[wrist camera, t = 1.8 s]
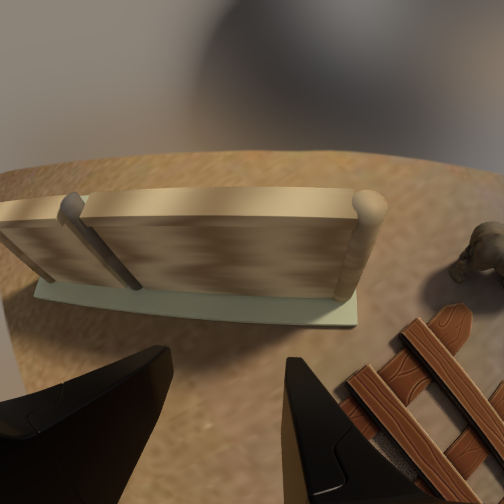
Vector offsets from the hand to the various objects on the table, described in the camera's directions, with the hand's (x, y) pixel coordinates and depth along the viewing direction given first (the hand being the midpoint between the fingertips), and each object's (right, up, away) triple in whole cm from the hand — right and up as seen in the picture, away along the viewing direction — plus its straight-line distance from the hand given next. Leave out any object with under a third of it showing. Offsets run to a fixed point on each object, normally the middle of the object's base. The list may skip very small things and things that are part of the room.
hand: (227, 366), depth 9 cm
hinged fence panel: (0, +1, +15) cm, 15 cm away
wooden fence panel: (-14, +1, +18) cm, 22 cm away
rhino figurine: (+24, +1, +14) cm, 28 cm away
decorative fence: (+17, -12, +8) cm, 22 cm away
